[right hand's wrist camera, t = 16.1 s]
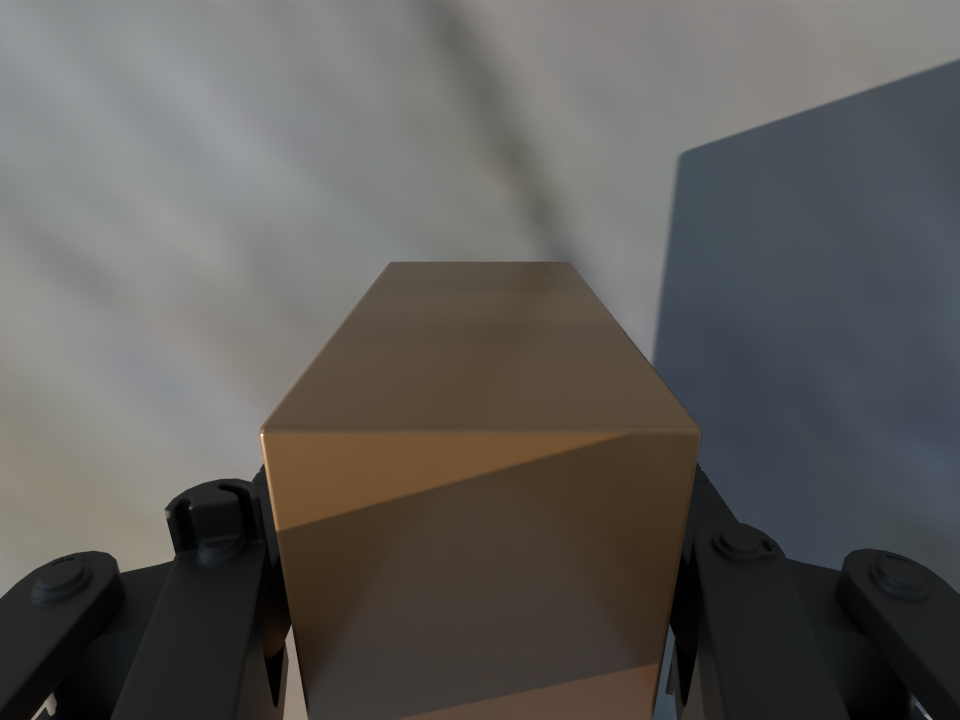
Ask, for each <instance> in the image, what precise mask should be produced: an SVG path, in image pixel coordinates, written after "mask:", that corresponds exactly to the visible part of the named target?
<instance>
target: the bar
mask: <svg viewBox="0 0 960 720" xmlns="http://www.w3.org/2000/svg"><path fill="white" fill-rule="evenodd" d="M259 436H260V442H261V447H262V453H263V459H264V465H265V471H266V477H267V483H268V488H269V494H270V500H271V506H272V512H273V518H274V523H275V529H276V535H277V541H278V547H279V553H280V559H281V564H282V570H283V576H284V582H285V588H286V594H287V599H288V605H289V611H290V617H291V623H292V629H293V635H294V640H295V646H296V652H297V658H298V664H299V670H300V675H301V681H302V687H303V693H304V699H305V705H306V711H307V716H308V720H653V715H654V709H655V703H656V698H657V692H658V686H659V680H660V674H661V668H662V663H663V657H664V651H665V645H666V639H667V634H668V628H669V622H670V616H671V610H672V604H673V599H674V593H675V587H676V581H677V575H678V570H679V564H680V558H681V552H682V546H683V540H684V535H685V529H686V523H687V517H688V511H689V506H690V500H691V494H692V488H693V482H694V476H695V471H696V465H697V459H698V453H699V447H700V442H701V436H702V432H701V428H700V426H699V425H698V424H697V422H696V421H695V420H694V419H693V417H692V416H691V415H690V413H689V412H688V411H687V410H686V408H685V407H684V406H683V405H682V403H681V402H680V401H679V400H678V398H677V397H676V396H675V394H674V393H673V392H672V391H671V389H670V388H669V387H668V386H667V384H666V383H665V382H664V381H663V379H662V378H661V377H660V375H659V374H658V373H657V372H656V370H655V369H654V368H653V367H652V365H651V364H650V363H649V362H648V360H647V359H646V358H645V356H644V355H643V354H642V353H641V351H640V350H639V349H638V348H637V346H636V345H635V344H634V343H633V341H632V340H631V339H630V337H629V336H628V335H627V334H626V332H625V331H624V330H623V329H622V327H621V326H620V325H619V324H618V322H617V321H616V320H615V318H614V317H613V316H612V315H611V313H610V312H609V311H608V310H607V308H606V307H605V306H604V305H603V303H602V302H601V301H600V299H599V298H598V297H597V296H596V294H595V293H594V292H593V291H592V289H591V288H590V287H589V286H588V284H587V283H586V282H585V280H584V279H583V278H582V277H581V275H580V274H579V273H578V272H577V270H576V269H575V268H574V267H573V265H572V264H571V263H570V262H390V263H389V264H388V265H387V267H386V268H385V269H384V270H383V272H382V273H381V274H380V275H379V277H378V278H377V279H376V281H375V282H374V283H373V284H372V286H371V287H370V288H369V290H368V291H367V292H366V293H365V295H364V296H363V297H362V298H361V300H360V301H359V302H358V304H357V305H356V306H355V307H354V309H353V310H352V311H351V313H350V314H349V315H348V316H347V318H346V319H345V320H344V321H343V323H342V324H341V325H340V327H339V328H338V329H337V330H336V332H335V333H334V334H333V336H332V337H331V338H330V339H329V341H328V342H327V343H326V344H325V346H324V347H323V348H322V350H321V351H320V352H319V353H318V355H317V356H316V357H315V359H314V360H313V361H312V362H311V364H310V365H309V366H308V368H307V369H306V370H305V371H304V373H303V374H302V375H301V376H300V378H299V379H298V380H297V382H296V383H295V384H294V385H293V387H292V388H291V389H290V391H289V392H288V393H287V394H286V396H285V397H284V398H283V399H282V401H281V402H280V403H279V405H278V406H277V407H276V408H275V410H274V411H273V412H272V414H271V415H270V416H269V417H268V419H267V420H266V421H265V422H264V424H263V425H262V426H261V429H260V432H259Z"/></svg>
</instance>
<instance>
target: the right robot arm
mask: <svg viewBox="0 0 960 720" xmlns="http://www.w3.org/2000/svg"><path fill="white" fill-rule="evenodd" d="M164 511H165V515H166V519H167V523H168V527H169V530H170V534H171V538H172V542H173V546H174V550H175V553H176V555H175V558H174V560H173V561H170V562H167V563H163V564H160V565H155V566H151V567H146V568H142V569H137V570H132V571H128V572H123V573H120V571H119V567H118V564H117V561H116V559H115V558H113V557H112V556H111V555H110V554H109V553H104V552H98V551H88V552H80V553H74V554H71V555H67V556H65V557H61V558H58V559H55V560H53V561H51V562H49V563H47V564H45V565H43V566H41V567H39V568H37V569H35V570H34V571H32V572H31V573H30V574H28V575H27V576H26V577H24V578H23V579H22V580H20V581H19V582H18V583H17V584H15V585H14V586H13V587H12V588H11V589H10V590H9V591H8V592H7V593H6V594H5V595H4V596H3V597H2V598H1V599H0V720H31V719H32V717H33V716H34V715H35V714H36V712H37V711H38V710H39V709H40V707H41V706H42V705H43V703H44V704H45V706H46V707H45V708H44V709H43V711H42V712H41V713H40V715H39V716H38V717H37V718H36V719H35V720H283V715H284V704H285V694H286V683H287V673H288V662H289V661H288V654H287V648H286V642H285V639H286V637H287V634H288V632H289V629H290V627H291V624H292V623H291V617H290V611H289V605H288V599H287V594H286V588H285V582H284V576H283V570H282V564H281V559H280V553H279V547H278V541H277V535H276V529H275V523H274V518H273V512H272V506H271V500H270V494H269V488H268V483H267V477H266V471H265V465H264V464H263V466H262V467H261V469H260V472H259V473H257V474H256V476H255V477H254V479H253V480H252V482H249V481H245V480H241V479H219V480H215V481H210V482H206V483H202V484H200V485H197V486H195V487H193V488H190V489H188V490H186V491H184V492H183V493H181V494H180V495H178V496H177V497H175V498H174V499H173V500H172V501H171V502H170V503H169V505H168V506H167V507H166V508H165V510H164ZM669 623H670V626H671V628H672V631H673V633H674V636H675V642H674V648H673V653H672V659H671V665H670V670H669V676H668V681H667V688H666V694H670V695H673V690H674V692H675V703H676V713H677V720H928V719H927V718H926V717H925V716H924V715H923V714H922V712H921V711H920V710H919V708H918V707H917V706H916V702H917V700H918V702H919V703H920V704H921V705H922V707H923V708H924V709H925V710H926V712H927V713H928V714H929V716H930V717H931V718H932V719H933V720H960V595H959V594H958V593H957V592H956V591H955V590H954V589H953V588H952V587H951V586H950V585H948V584H947V583H946V582H945V581H944V580H943V579H941V578H940V577H939V576H937V575H936V574H935V573H933V572H932V571H931V570H929V569H928V568H927V567H925V566H923V565H921V564H919V563H917V562H915V561H913V560H911V559H909V558H907V557H904V556H901V555H899V554H898V555H897V554H895V553H891V552H888V551H883V550H875V549H862V550H855V551H852V552H851V553H850V554H849V555H847V556H846V557H845V559H844V563H843V566H842V569H841V571H838V570H834V569H829V568H824V567H820V566H815V565H811V564H806V563H801V562H798V561H794V560H791V559H787V558H786V557H785V554H784V553H783V551H782V550H781V548H780V547H779V545H778V544H777V543H776V542H775V541H774V540H773V539H771V538H770V537H769V536H768V535H766V534H765V533H764V532H762V531H760V530H757V529H755V528H753V527H751V526H749V525H747V524H743V523H739V522H738V521H737V520H736V518H735V517H734V515H733V514H732V512H731V511H730V509H729V508H728V506H727V505H726V504H725V502H724V501H723V499H722V498H721V496H720V495H719V493H718V492H717V491H716V489H715V488H714V486H713V485H712V483H710V482H709V479H708V477H707V476H706V475H705V473H704V472H703V471H701V467H700V466H699V464H698V463H697V465H696V471H695V476H694V482H693V488H692V494H691V500H690V506H689V511H688V517H687V523H686V529H685V535H684V540H683V546H682V552H681V558H680V564H679V570H678V575H677V581H676V587H675V593H674V599H673V604H672V610H671V616H670V622H669Z"/></svg>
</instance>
